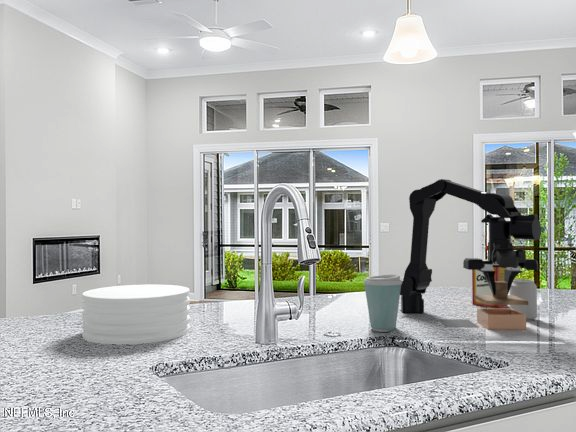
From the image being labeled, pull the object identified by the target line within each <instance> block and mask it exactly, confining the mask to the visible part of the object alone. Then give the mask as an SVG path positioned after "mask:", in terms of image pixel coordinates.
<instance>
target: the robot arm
mask: <svg viewBox="0 0 576 432" xmlns="http://www.w3.org/2000/svg"><path fill="white" fill-rule="evenodd" d="M446 195H449V196H451V197H455V198H458V199H461V200H464V201H467V202H469V203H472V204H475V205H477V206H478V207H479V208H480V209H481V210H483V211H485V212H486V213H489V214H486V215H485V217H484V218H482V219H481V220H480V222H481V223H484V224H488V242H487V246H488V256H487V260H489V261H483V260H484V259H482V258H478V257H473V258H471V257H469V258H468V257H465V258H464V260H463V263H462V264H463V265H462V266H463V269H466V270H471V271H472V270H479V271H480V272H483V274H484V276H485V278H486V280H487V282H488V284H489V287H490V289H491V292H492V294H493V295H495V290H496V289H495V278H494V276H495V271H493V267H501V268H506V267H507V269H504V281H505V282H508V294H510V288H511V285H512V282H513V280H514V279H516V277H517V276H518V275H519V274H522V273H523V270H521V269H525V270H527V271H538V270H539V263H538V261H537V259H534V258H529V257H528V258H527V255H526V254H527V250H525V249H516V250H514V245H513V243H512V238H513V239H514V240H516V241H517V240H522V241H523V240H525V241H539V239H540V238H541V237H542V232H543V231H542V230H543V228H542V226H541V225H542V224H541V222H540V220H539V219H538V214H525V215H522V213H521V212H520V211H519V209H518V208H517V207H516V206H515V202H514V200H513V197H512V196H510V195H509V194H504V193H495V192H487V191H483V190H480V189H479V190H478V189H476V188H473V187H471V186H466V185H464V184H460V183H457V182H454V181H452V180H450V179H445V178H444V179H442V178H441V179H440V178H439V179H438V180H436V181H435V182H433V183H430V184H428V185H425V186H422V187H421V188H419V189H415V190H413V191H411V193H410V195H409V197H408V200H409V201H408V202H409V210H410V212H411V214H412V217H413V221H412V232H411V233H412V234H411V246H410V259H409V260H410V261H409V263H408V265H407V266H406V268H405V270H404V274H403V278H402V280H401V281H402V284H401V290H400V309H399V311H400V312H401V313H402V314H404V315H406V314H413V315H414V314H415V315H416V314H420V315H421V314H424V312H425V300H424V298H423V295H424V294H425V293H426V291H427V288H428V287H430V285H431V284H430V283H432V282H433V280H432V275H433V269H432V268H428V265H427V252H428V241H429V240H428V239H429V229H430V228H429V225H430V218H431V216H432V214H433V213H434V211H435V208H436V204H437V202H438V201H440V200H441V199H443V198H444V197H445V196H446ZM495 215H496V216H495ZM506 219H510V220H506ZM495 262H497V263H495Z"/></svg>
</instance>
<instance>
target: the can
mask: <svg viewBox="0 0 576 432" xmlns="http://www.w3.org/2000/svg"><path fill="white" fill-rule="evenodd" d="M537 287H538V286H537V284H535V280H534V279H525V278H514V280H513V282H512V285H511V288H510V290H509V295H514V296H517V297H519V298H521V299H524V300H526V301H528V305H509V309H514V310H516V311H518V312H521V313H523V314H525V315H526V322H533V321H534V320H535V319H537V318H538V297H537V296H538V294H537V293H538V288H537Z"/></svg>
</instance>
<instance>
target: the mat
mask: <svg viewBox="0 0 576 432" xmlns="http://www.w3.org/2000/svg"><path fill="white" fill-rule="evenodd" d="M437 321H438V322H439V323H441V324H442V325H443V326H444V327H446V328H479V326H478V325H477V324H475V323H474V322H473V321H471V320H470V319H454V318H453V319H452V318H451V319H448V318H447V319H445V318H444V319H443V318H442V319H439V318H438V319H437Z"/></svg>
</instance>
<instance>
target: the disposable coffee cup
mask: <svg viewBox="0 0 576 432" xmlns="http://www.w3.org/2000/svg"><path fill="white" fill-rule="evenodd" d="M402 281H403V280H402V279H401V276H400V275H399V274H381V275H380V274H379V275H373V276H372V275H371V276H368V277H365V278H364V279H363V285H364V292H365V297H366V303H367V304H366V305H367V310H368V317H369V323H370V328H371V330H372V331H374V332H380V333H390V332H391V331H392V330H395V329H396V327H397V319H398V314H399V311H398V310H399V306H400V299H401V295H400V290H401V284H402Z"/></svg>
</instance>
